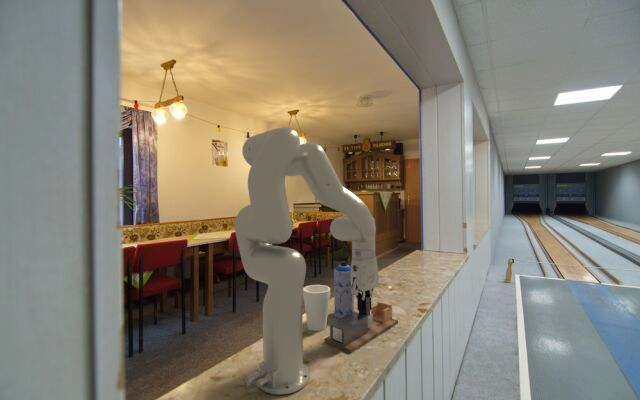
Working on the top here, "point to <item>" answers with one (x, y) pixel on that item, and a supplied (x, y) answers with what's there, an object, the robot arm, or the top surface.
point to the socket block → (382, 311)
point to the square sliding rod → (338, 332)
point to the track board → (366, 335)
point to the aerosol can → (343, 290)
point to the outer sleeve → (350, 328)
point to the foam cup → (316, 306)
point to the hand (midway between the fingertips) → (364, 309)
